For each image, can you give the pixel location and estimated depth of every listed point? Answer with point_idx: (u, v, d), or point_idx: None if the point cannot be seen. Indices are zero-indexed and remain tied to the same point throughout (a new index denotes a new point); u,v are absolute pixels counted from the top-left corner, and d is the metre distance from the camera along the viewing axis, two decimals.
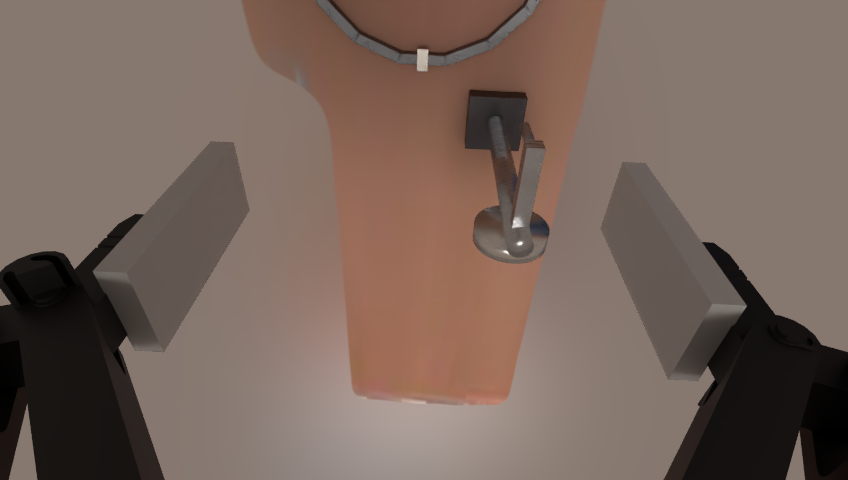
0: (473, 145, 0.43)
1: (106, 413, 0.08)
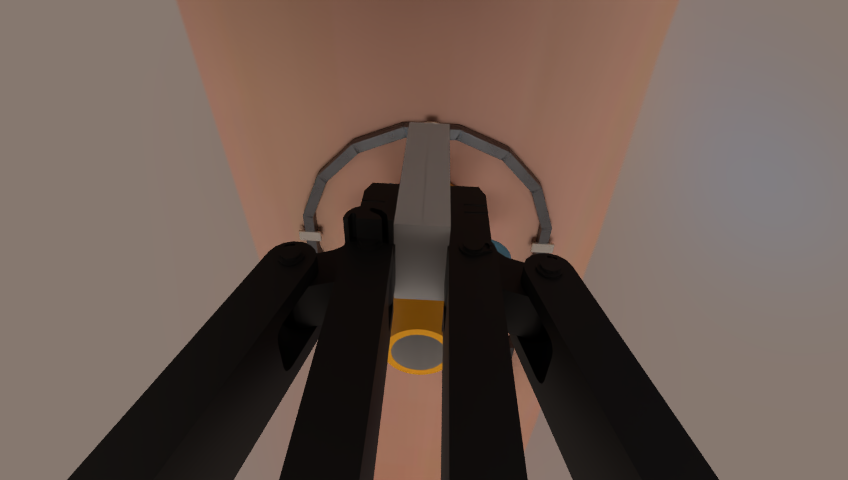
0: None
1: (365, 366, 0.09)
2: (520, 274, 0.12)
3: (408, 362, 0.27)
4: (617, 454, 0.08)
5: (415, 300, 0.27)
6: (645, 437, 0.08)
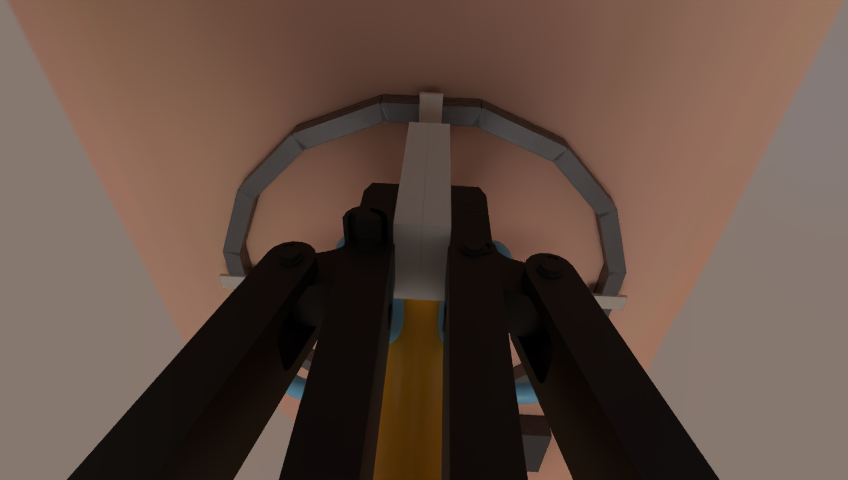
0: None
1: (365, 366, 0.09)
2: (521, 274, 0.12)
3: None
4: (617, 454, 0.08)
5: None
6: (646, 437, 0.08)
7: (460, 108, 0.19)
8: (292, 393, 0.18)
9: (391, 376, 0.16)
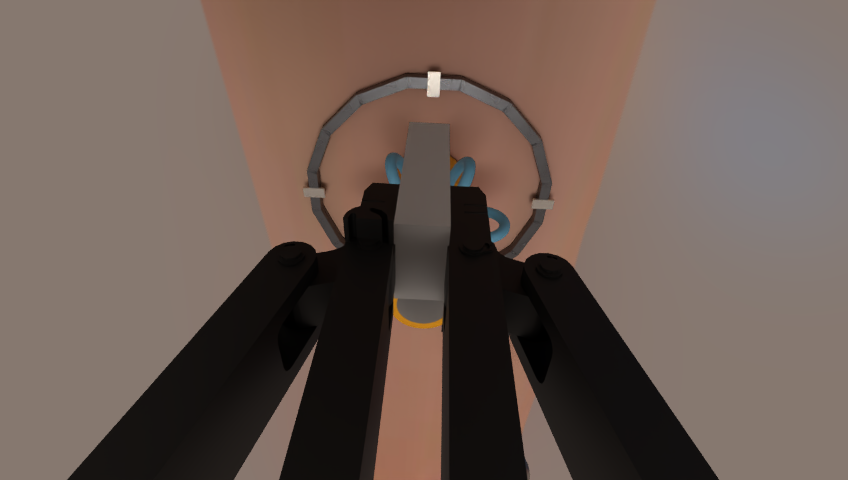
0: None
1: (365, 366, 0.09)
2: (520, 274, 0.12)
3: (413, 317, 0.29)
4: (616, 453, 0.08)
5: None
6: (645, 437, 0.08)
7: (450, 80, 0.34)
8: None
9: None
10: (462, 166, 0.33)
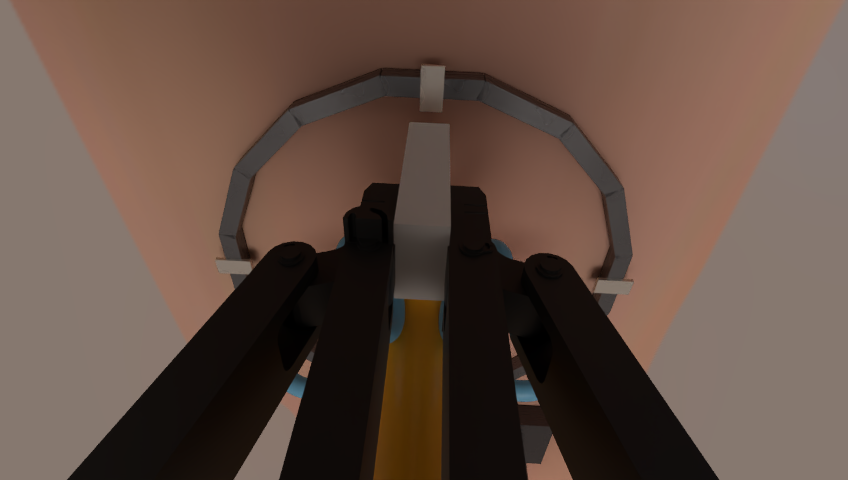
0: None
1: (365, 366, 0.09)
2: (520, 274, 0.12)
3: None
4: (617, 454, 0.08)
5: None
6: (645, 437, 0.08)
7: (462, 81, 0.18)
8: (294, 392, 0.18)
9: (392, 375, 0.16)
10: None
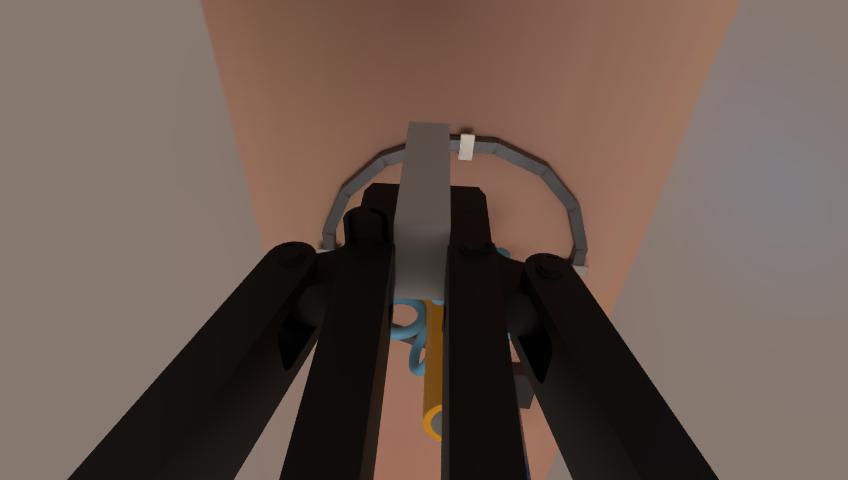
0: None
1: (365, 366, 0.09)
2: (520, 274, 0.12)
3: None
4: (617, 453, 0.08)
5: None
6: (645, 437, 0.08)
7: (484, 143, 0.31)
8: None
9: None
10: None
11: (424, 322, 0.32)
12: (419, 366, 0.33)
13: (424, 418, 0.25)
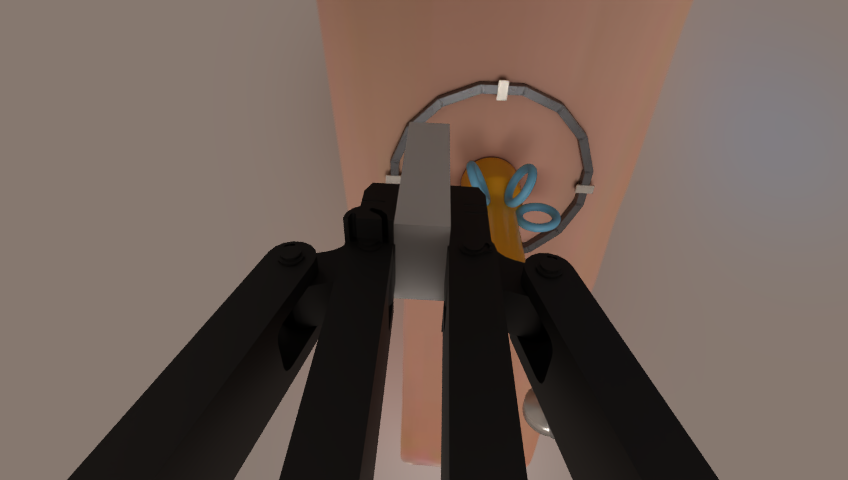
0: None
1: (365, 366, 0.09)
2: (520, 274, 0.12)
3: None
4: (617, 453, 0.08)
5: (498, 241, 0.37)
6: (645, 437, 0.08)
7: (516, 87, 0.42)
8: None
9: (489, 215, 0.41)
10: (524, 171, 0.42)
11: None
12: None
13: None
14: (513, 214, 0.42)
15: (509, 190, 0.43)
